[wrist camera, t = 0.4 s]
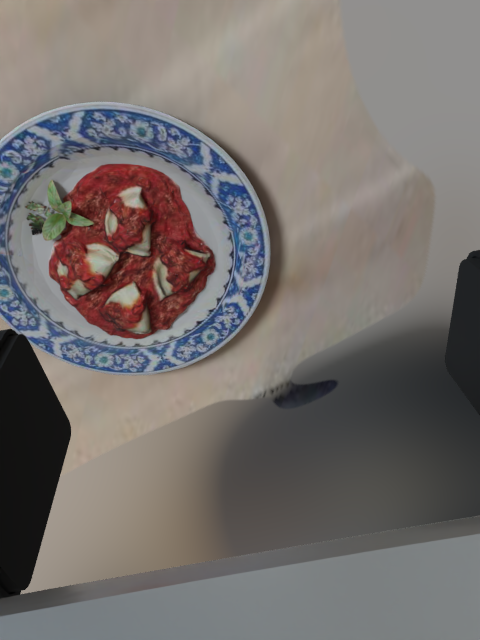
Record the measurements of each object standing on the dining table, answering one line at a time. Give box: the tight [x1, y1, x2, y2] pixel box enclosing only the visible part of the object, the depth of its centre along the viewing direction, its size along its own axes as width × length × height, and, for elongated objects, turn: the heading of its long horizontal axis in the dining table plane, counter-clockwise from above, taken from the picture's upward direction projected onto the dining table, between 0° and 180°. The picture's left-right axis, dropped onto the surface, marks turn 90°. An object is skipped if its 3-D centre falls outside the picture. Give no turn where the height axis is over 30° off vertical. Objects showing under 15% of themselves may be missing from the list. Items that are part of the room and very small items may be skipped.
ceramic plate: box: [0, 102, 271, 375], centre depth 40 cm, size 26×26×3 cm
